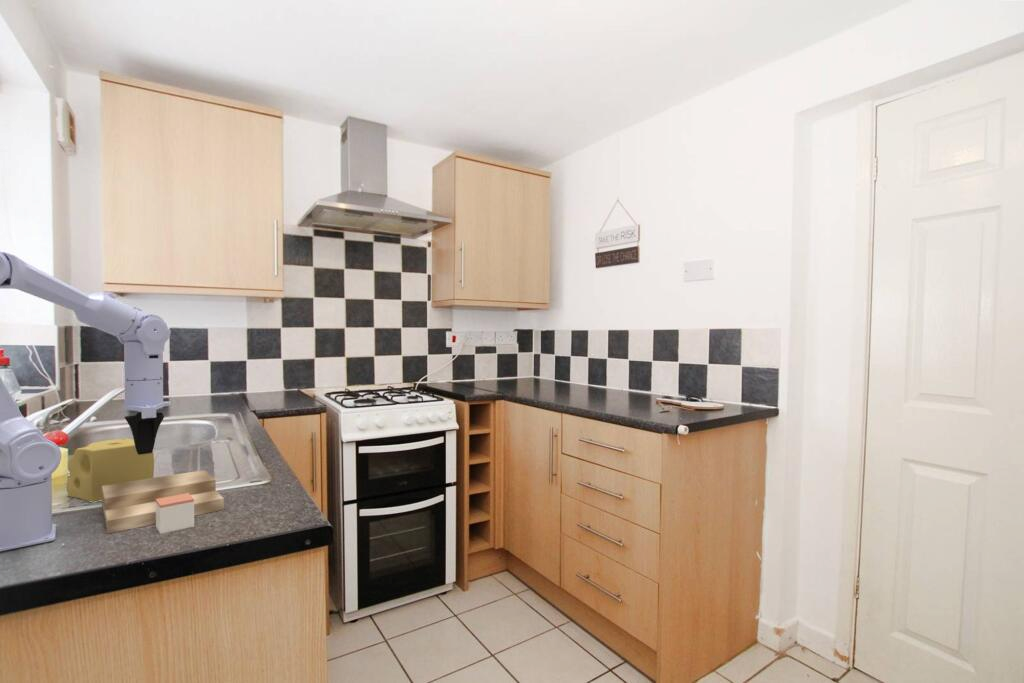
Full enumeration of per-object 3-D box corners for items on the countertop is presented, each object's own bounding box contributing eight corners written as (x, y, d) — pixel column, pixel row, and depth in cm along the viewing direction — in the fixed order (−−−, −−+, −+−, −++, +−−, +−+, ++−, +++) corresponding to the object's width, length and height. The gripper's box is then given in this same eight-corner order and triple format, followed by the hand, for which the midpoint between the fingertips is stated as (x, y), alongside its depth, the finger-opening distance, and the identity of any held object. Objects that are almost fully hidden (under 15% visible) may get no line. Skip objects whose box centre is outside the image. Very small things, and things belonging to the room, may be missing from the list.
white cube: (155, 498, 80) (155, 526, 80) (160, 505, 77) (160, 534, 77) (188, 493, 83) (188, 519, 83) (194, 499, 80) (194, 526, 80)
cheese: (66, 497, 96) (65, 445, 96) (129, 482, 106) (129, 436, 106) (91, 504, 91) (91, 450, 91) (156, 489, 101) (155, 440, 101)
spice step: (107, 533, 77) (107, 508, 77) (102, 508, 89) (101, 485, 89) (223, 509, 87) (223, 487, 87) (204, 489, 100) (204, 469, 100)
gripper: (176, 380, 88) (177, 456, 88) (164, 376, 99) (165, 444, 99) (126, 382, 83) (127, 463, 83) (119, 378, 94) (120, 449, 94)
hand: (144, 453), depth 91 cm, fingers closed
